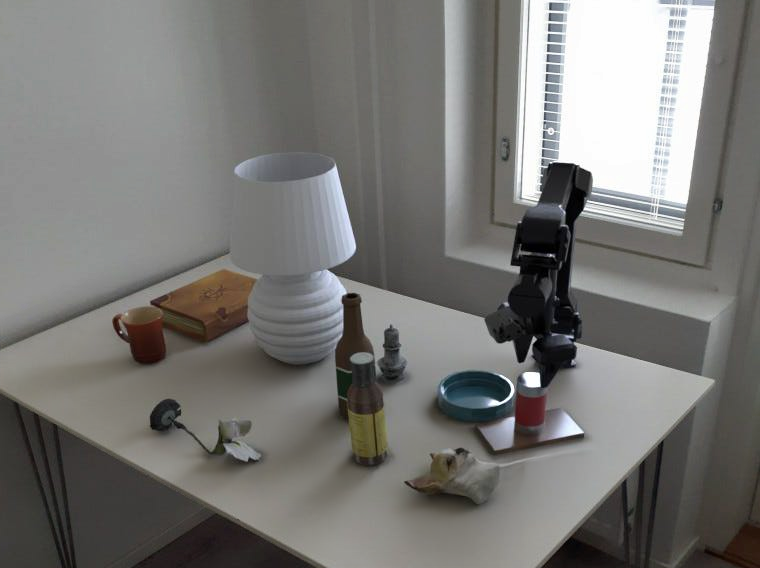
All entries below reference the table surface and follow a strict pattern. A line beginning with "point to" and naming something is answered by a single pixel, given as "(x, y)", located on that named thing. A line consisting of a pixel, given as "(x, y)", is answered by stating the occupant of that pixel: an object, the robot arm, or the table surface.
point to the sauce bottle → (366, 412)
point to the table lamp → (292, 251)
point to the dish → (475, 395)
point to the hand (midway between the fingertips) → (532, 374)
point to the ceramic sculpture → (459, 476)
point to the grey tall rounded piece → (392, 357)
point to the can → (530, 405)
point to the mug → (143, 333)
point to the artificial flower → (234, 428)
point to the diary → (207, 305)
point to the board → (507, 440)
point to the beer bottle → (349, 347)
